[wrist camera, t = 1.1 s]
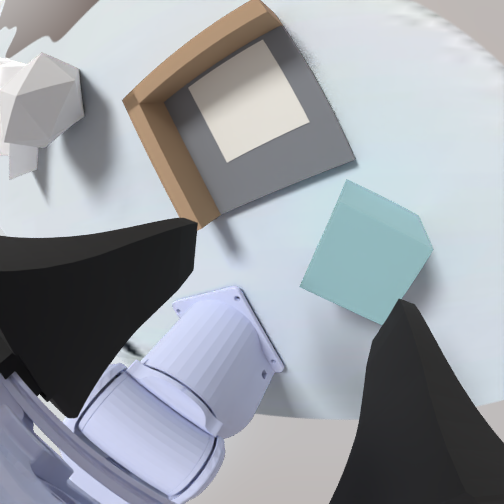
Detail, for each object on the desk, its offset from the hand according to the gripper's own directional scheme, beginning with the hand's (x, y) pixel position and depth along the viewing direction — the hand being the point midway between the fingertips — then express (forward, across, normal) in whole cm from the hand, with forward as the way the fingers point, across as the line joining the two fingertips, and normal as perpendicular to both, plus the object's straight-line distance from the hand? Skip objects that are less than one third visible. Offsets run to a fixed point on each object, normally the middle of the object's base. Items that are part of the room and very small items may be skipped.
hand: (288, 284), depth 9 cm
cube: (+10, -3, +1) cm, 10 cm away
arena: (+10, +7, -4) cm, 12 cm away
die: (+10, +25, -4) cm, 27 cm away
